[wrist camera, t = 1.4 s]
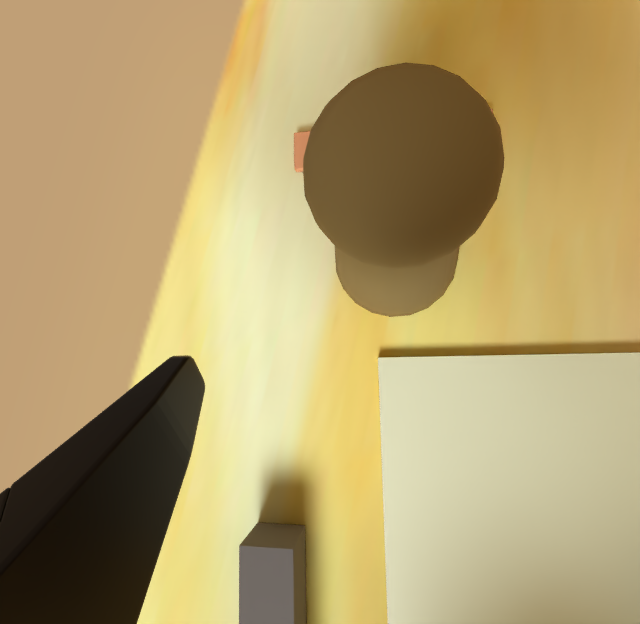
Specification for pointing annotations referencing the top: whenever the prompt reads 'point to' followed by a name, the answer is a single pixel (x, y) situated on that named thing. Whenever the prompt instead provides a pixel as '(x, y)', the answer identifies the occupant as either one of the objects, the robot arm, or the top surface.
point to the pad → (511, 488)
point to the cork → (402, 182)
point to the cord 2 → (273, 575)
